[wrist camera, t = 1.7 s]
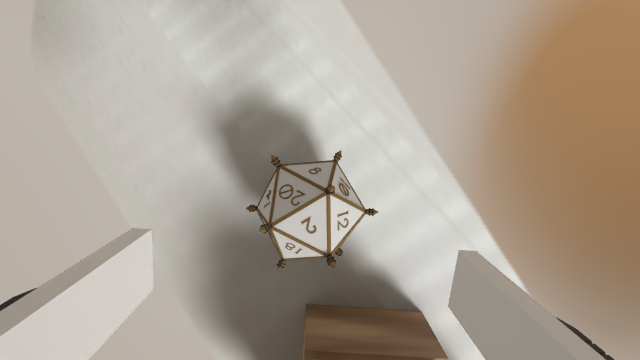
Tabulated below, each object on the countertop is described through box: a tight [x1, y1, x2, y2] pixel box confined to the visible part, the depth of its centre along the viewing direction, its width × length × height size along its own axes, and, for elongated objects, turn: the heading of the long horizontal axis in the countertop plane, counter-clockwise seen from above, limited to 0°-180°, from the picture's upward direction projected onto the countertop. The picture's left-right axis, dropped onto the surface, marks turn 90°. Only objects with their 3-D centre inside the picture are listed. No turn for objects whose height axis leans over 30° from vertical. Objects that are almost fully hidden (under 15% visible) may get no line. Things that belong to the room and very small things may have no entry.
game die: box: [246, 151, 378, 270], centre depth 22 cm, size 9×8×10 cm
